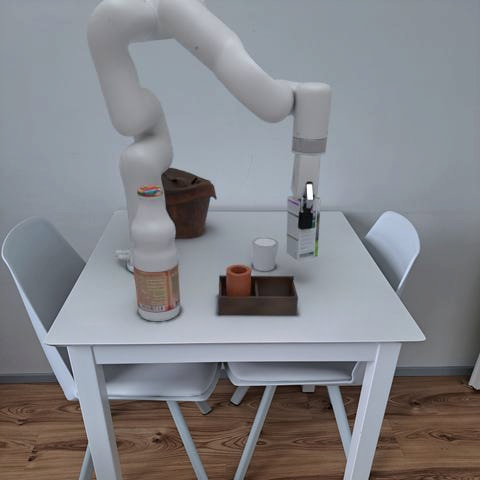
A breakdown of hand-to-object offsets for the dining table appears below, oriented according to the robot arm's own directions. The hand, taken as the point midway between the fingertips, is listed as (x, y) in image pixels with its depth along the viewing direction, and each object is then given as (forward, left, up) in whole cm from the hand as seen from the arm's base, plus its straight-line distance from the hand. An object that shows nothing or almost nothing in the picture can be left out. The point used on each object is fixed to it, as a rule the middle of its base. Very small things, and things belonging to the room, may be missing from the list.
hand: (302, 221), depth 117 cm
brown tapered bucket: (-31, +33, -16) cm, 48 cm away
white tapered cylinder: (-8, +8, -16) cm, 19 cm away
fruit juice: (-33, -16, -16) cm, 40 cm away
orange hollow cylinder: (-15, -13, -16) cm, 25 cm away
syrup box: (0, 0, -9) cm, 9 cm away
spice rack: (-11, -13, -16) cm, 23 cm away
